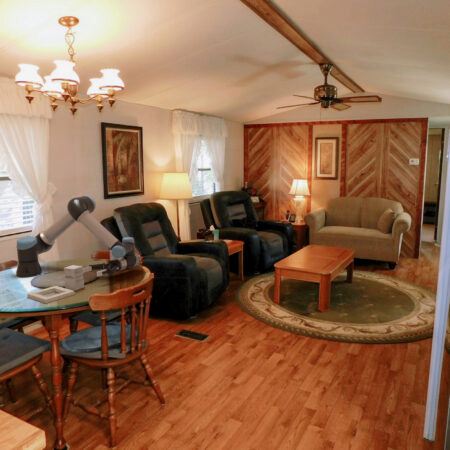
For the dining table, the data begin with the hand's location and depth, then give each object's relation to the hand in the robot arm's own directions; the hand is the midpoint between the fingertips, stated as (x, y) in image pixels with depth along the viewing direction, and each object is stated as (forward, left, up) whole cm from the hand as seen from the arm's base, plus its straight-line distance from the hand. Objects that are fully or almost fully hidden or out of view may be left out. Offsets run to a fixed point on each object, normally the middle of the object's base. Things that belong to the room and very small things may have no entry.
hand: (89, 272), depth 247 cm
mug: (-12, +34, -7) cm, 36 cm away
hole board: (+1, -26, -7) cm, 27 cm away
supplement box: (0, -10, -7) cm, 12 cm away
